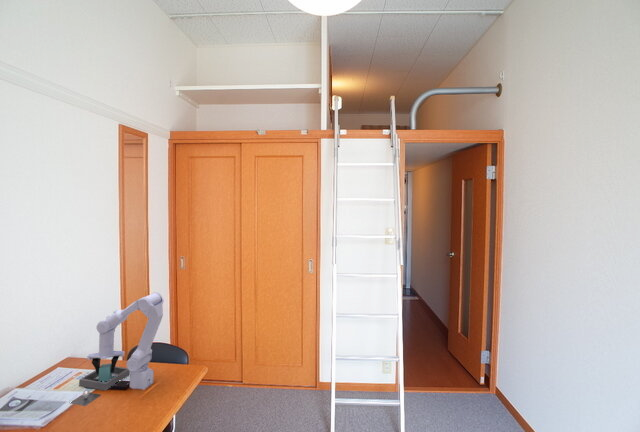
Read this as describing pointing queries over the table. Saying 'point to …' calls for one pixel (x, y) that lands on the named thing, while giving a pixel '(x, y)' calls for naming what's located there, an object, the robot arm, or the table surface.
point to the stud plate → (85, 398)
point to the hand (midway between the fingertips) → (105, 372)
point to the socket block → (105, 372)
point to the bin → (104, 386)
